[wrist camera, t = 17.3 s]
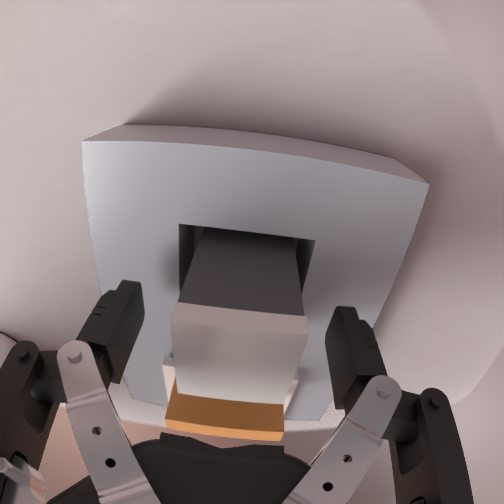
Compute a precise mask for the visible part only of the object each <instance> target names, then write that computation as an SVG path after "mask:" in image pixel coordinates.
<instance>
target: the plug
mask: <svg viewBox="0 0 504 504" xmlns="http://www.w3.org/2000/svg"><path fill="white" fill-rule="evenodd" d="M169 321H170V332H171V341H172V351H173V359H174V367H175V375H176V383H177V390H178V393H181V394H188V395H194V396H201V397H208V398H216V399H224V400H234V401H244V402H255V403H270V404H284V402H285V399H286V397H287V394H288V392H289V389H290V386H291V384H292V381H293V378H294V376H295V373H296V370H297V368H298V365H299V362H300V359H301V357H302V354H303V351H304V348H305V345H306V343H307V340H308V337H309V329H308V322H307V316H304V308H303V301H302V294H301V287H300V280H299V274H298V267H297V261H296V254H295V248H294V242H293V237H287V236H280V235H272V234H264V233H256V232H247V231H239V230H231V229H222V228H214V227H204V229H203V232H202V235H201V237H200V240H199V243H198V246H197V248H196V251H195V254H194V256H193V259H192V262H191V265H190V267H189V270H188V273H187V276H186V279H185V282H184V284H183V287H182V290H181V293H180V296H179V299H178V302H175V304H174V307H173V310H172V313H171V316H170V319H169Z"/></svg>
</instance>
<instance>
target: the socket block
mask: <svg viewBox="0 0 504 504" xmlns="http://www.w3.org/2000/svg"><path fill="white" fill-rule="evenodd" d="M82 161H83V175H84V187H85V197H86V207H87V215H88V223H89V230H90V236H91V243H92V249H93V255H94V260H95V266H96V271H97V276H98V281H99V286H100V290H101V295H104V294H105V293H106V292H107V291H109V290H116V289H117V287H118V286H119V284H120V282H121V281H122V280H123V279H125V280H131V281H138V282H140V283H141V285H142V293H143V301H144V308H145V316H144V322H143V325H142V327H141V330H140V332H139V335H138V337H137V340H136V342H135V345H134V347H133V350H132V352H131V355H130V357H129V360H128V362H127V365H126V368H125V370H124V373H123V375H124V378H125V381H126V384H127V387H128V389H129V392H130V395H131V398H132V399H134V400H139V401H143V402H148V403H152V404H157V405H162V406H167V407H168V404H169V402H168V397H167V392H166V386H165V380H164V375H163V368H162V363H163V359H164V357H170V358H173V351H172V341H171V332H170V321H169V319H170V316H171V313H172V310H173V307H174V304H175V302H178V299H179V296H180V293H181V290H182V287H183V284H184V282H185V279H186V276H187V273H188V270H189V267H190V265H191V262H192V259H193V256H194V254H195V251H196V248H197V246H198V243H199V240H200V237H201V235H202V232H203V229H204V227H214V228H222V229H231V230H239V231H247V232H256V233H264V234H272V235H280V236H287V237H293V242H294V248H295V254H296V261H297V267H298V274H299V280H300V287H301V294H302V301H303V308H304V316H307V322H308V329H309V337H308V340H307V343H306V345H305V348H304V351H303V354H302V357H301V359H300V362H299V365H298V368H297V370H296V372H298V379H299V381H298V383H297V386H296V388H295V390H294V393H293V395H292V397H291V400H290V402H289V404H288V407H287V409H286V411H285V413H284V420H313V421H320V419H321V418H322V416H323V415H324V413H325V411H326V410H327V408H328V407H329V405H330V404H331V402H332V400H333V399H334V396H333V390H332V384H331V378H330V372H329V366H328V360H327V354H326V349H325V335H326V331H327V328H328V326H329V323H330V320H331V318H332V315H333V312H334V310H335V308H336V306H350V307H355V308H356V311H357V314H358V317H359V319H361V320H365V321H366V322H367V323H368V324H369V325H370V327H371V328H373V326H374V324H375V322H376V320H377V318H378V316H379V314H380V312H381V310H382V308H383V306H384V303H385V301H386V299H387V297H388V295H389V292H390V290H391V288H392V286H393V283H394V281H395V279H396V276H397V274H398V272H399V269H400V267H401V264H402V262H403V259H404V257H405V254H406V252H407V249H408V247H409V244H410V241H411V239H412V236H413V233H414V231H415V228H416V225H417V222H418V219H419V217H420V214H421V211H422V208H423V205H424V202H425V198H426V195H427V192H428V189H429V186H430V184H429V183H427V182H426V181H425V180H423V179H422V178H421V177H419V176H418V175H417V174H415V173H414V172H413V171H411V170H410V169H408V168H407V167H406V166H404V165H403V164H401V163H400V162H398V161H397V160H396V159H394V158H390V157H386V156H382V155H378V154H374V153H369V152H365V151H361V150H356V149H351V148H347V147H342V146H337V145H332V144H327V143H321V142H316V141H310V140H304V139H298V138H292V137H285V136H278V135H271V134H264V133H256V132H247V131H238V130H228V129H217V128H205V127H190V126H170V125H120V126H117V127H114V128H112V129H109V130H107V131H104V132H102V133H99V134H97V135H95V136H92V137H90V138H88V139H85V140H83V141H82Z"/></svg>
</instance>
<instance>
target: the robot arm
mask: <svg viewBox="0 0 504 504" xmlns="http://www.w3.org/2000/svg"><path fill="white" fill-rule="evenodd" d="M144 316H145V308H144V301H143V293H142V285H141V283H140V282H138V281H131V280H125V279H123V280H122V281H121V282H120V284H119V286H118V287H117V289H116V290H109V291H107V292H106V293H105V294H104V295H102V296H101V297H100V299H99V301H98V302H97V304H96V307H94V309H93V311H92V313H91V314H90V316H89V317H88V319H87V321H86V323H85V324H84V326H83V328H82V330H81V331H80V333H79V335H78V337H77V338H76V340H74V341H70V342H67V343H65V344H64V345H63V346H62V347H61V348H60V349H59V350H58V351H39V349H38V347H37V345H36V344H35V343H33V342H31V341H21V342H19V343H16V342H15V341H14V340H12V339H11V338H9V337H7V336H5V335H3V334H1V333H0V504H347V501H348V500H349V498H350V496H351V495H352V494H353V492H354V490H355V489H356V488H357V486H358V484H359V483H360V481H361V480H362V478H363V476H364V475H365V473H366V471H367V470H368V468H369V466H370V465H371V463H372V461H373V459H374V457H375V456H376V454H377V452H378V450H379V449H380V447H381V445H382V443H383V439H387V440H389V447H390V453H391V461H392V469H393V477H394V485H395V495H396V504H474V503H473V496H472V491H471V485H470V480H469V475H468V471H467V466H466V462H465V458H464V453H463V449H462V445H461V441H460V437H459V434H458V430H457V427H456V423H455V420H454V417H453V413H452V410H451V407H450V403H449V400H448V398H447V396H446V395H445V394H444V393H443V392H442V391H440V390H439V389H436V388H427V389H425V390H424V391H423V392H422V393H421V394H420V395H419V394H414V393H410V392H406V391H403V390H401V388H400V386H399V384H398V383H397V382H396V381H395V380H394V379H392V378H390V377H388V375H387V372H386V369H385V366H384V363H383V359H382V356H381V353H380V350H379V348H378V344H377V341H376V340H375V335H374V332H373V329H372V328H371V327H370V325H369V324H368V323H367V322H366V321H365V320H361V319H359V317H358V314H357V311H356V308H355V307H350V306H336V308H335V310H334V312H333V315H332V318H331V320H330V323H329V326H328V328H327V331H326V335H325V349H326V354H327V360H328V366H329V372H330V378H331V384H332V390H333V396H334V403H335V409H345V417H344V418H343V419H342V421H341V422H340V424H339V425H338V427H337V428H336V430H335V431H334V432H333V434H332V435H331V437H330V438H329V439H328V441H327V442H326V444H325V445H324V446H323V448H322V449H321V450H320V452H319V453H318V454H317V455H316V456H315V458H314V459H313V460H312V461H311V463H310V464H309V465H308V464H307V463H306V462H304V461H302V460H301V459H299V458H297V457H295V456H292V455H289V454H286V453H284V446H272V445H247V446H240V447H233V448H218V447H215V446H212V445H209V444H207V443H204V442H201V441H199V440H196V439H193V438H191V437H185V436H178V435H173V434H168V433H163V432H161V435H160V439H154V440H147V441H143V442H140V443H138V444H135V445H132V443H131V441H130V439H129V437H128V435H127V433H126V431H125V430H124V427H123V425H122V423H121V420H120V418H119V416H118V414H117V411H116V409H115V407H114V404H113V402H112V399H111V397H110V394H109V392H108V387H109V385H110V382H112V383H116V384H120V381H121V378H122V376H123V373H124V370H125V368H126V365H127V362H128V360H129V357H130V355H131V352H132V350H133V347H134V345H135V342H136V340H137V337H138V335H139V332H140V330H141V327H142V325H143V322H144ZM60 403H66V410H67V413H68V417H69V420H70V423H71V426H72V430H73V433H74V436H75V438H76V441H77V444H78V447H79V449H80V452H81V455H82V458H83V460H84V462H85V465H86V468H87V470H88V472H89V475H88V476H87V477H85V478H84V479H82V480H81V481H79V482H78V483H76V484H74V485H73V486H71V487H70V488H68V489H66V490H65V491H63V492H62V493H60V494H58V495H57V496H55V497H53V498H52V499H50V500H49V501H48V502H47V501H46V499H45V495H44V492H45V489H44V480H43V478H42V476H41V474H40V473H39V472H38V470H39V466H40V463H41V459H42V455H43V452H44V449H45V445H46V442H47V439H48V436H49V433H50V430H51V427H52V424H53V421H54V418H55V415H56V413H57V410H58V407H59V404H60Z"/></svg>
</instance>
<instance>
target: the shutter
mask: <svg viewBox="0 0 504 504" xmlns="http://www.w3.org/2000/svg"><path fill="white" fill-rule="evenodd" d="M162 368H163V375H164V380H165V386H166V392H167V397H168V402H169V404H168V408H167V412H166V417H165V421H166V425H167V428H169V429H174V430H180V431H186V432H192V433H198V434H205V435H213V436H222V437H230V438H241V439H253V440H271V441H280V439H281V438H282V436H283V434H284V413H285V411H286V409H287V407H288V404H289V402H290V400H291V397H292V395H293V393H294V390H295V388H296V386H297V383H298V381H299V379H298V372H296V373H295V376H294V378H293V381H292V384H291V386H290V389H289V392H288V394H287V397H286V399H285V402H284V404H270V403H255V402H244V401H234V400H224V399H216V398H208V397H201V396H194V395H188V394H181V393H178V390H177V383H176V375H175V367H174V359H173V358H170V357H164V359H163V363H162Z"/></svg>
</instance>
